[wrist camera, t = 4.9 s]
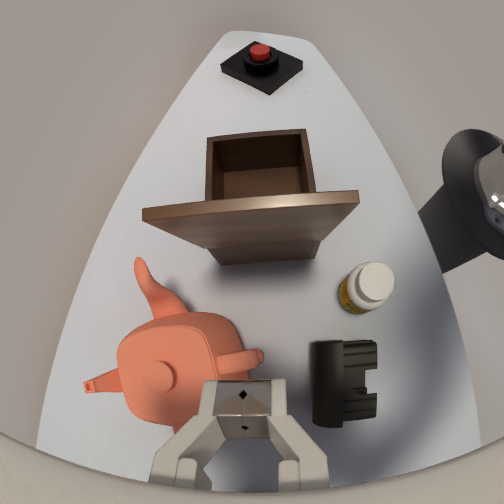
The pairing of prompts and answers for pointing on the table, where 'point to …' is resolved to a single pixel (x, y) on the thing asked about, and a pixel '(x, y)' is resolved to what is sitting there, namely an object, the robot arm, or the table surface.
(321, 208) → the hatch
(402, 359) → the table surface
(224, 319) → the teapot
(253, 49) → the button
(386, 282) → the supplement bottle
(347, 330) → the table surface
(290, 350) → the table surface
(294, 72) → the button block
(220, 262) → the hatch box
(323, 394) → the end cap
